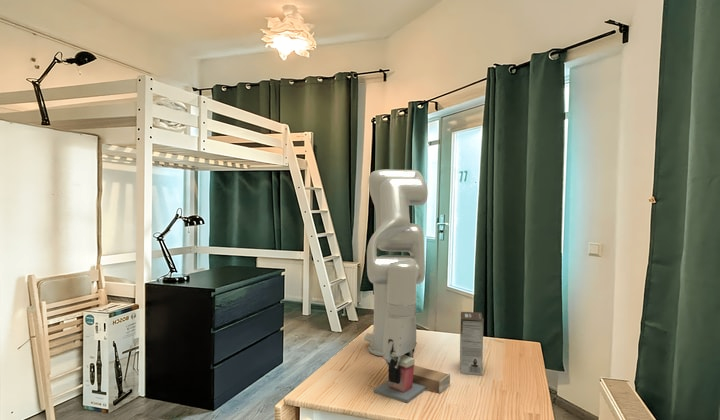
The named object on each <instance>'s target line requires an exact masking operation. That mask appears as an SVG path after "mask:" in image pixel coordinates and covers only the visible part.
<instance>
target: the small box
mask: <svg viewBox="0 0 720 420" xmlns="http://www.w3.org/2000/svg"><path fill="white" fill-rule="evenodd" d="M392 359H394V361H395V362H396V357H393V358H392ZM414 365H415V358H414V357H413V358H412V357H409V356H407V355H402V356H401V357H400V363H399V368H400V383H399V384H397V383H393V382H390V381H389V386H390V387H393V388H395V389H397V390H400V391H402V392H405V391H407V390H408V389H410V388H412V383H413V371H414Z"/></svg>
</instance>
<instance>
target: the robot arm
mask: <svg viewBox="0 0 720 420" xmlns="http://www.w3.org/2000/svg"><path fill="white" fill-rule="evenodd" d="M368 190H369V194H370V197H371V200H372V203H373V205H374V210H375V232H374V233H372V235H371V237H370V239H369V241H368V244H367V248H366V273H367V278H368V281H369V282H370V283H371V284H372V286H373V328H372V329H373V333H370V332H367V333H366V334H365V335H364V341H366V342H370V344H369V345H368V352H369V353H370V354H372V355H375V356H378V357H383V360H385V362H386V366H387V367H388V369H387V370H388V374H387V375H388V376H387V377H388V379H387V381H388V380H389V381H390V382H393V383H397V384H399V383H400V368H399V363H400V357H401V356H402V355H407V356H409V357H412V358H414V353H415V349H416V346H417V344H418V343H417V321H416V315H417V285H420V284H422V283H423V282H424V280H425V278H426V277H425V275H426V264H425V263H426V262H425V237H424V232H423V231H424V230H423V229H422V227H421V226H420V225H419V224H417V223H411V219H410V217H411V216H410V207H409V206H423V205H425V204H426V202H427V200H428V194H429V193H428V185H427V183H426V180H425V178H424V176H423V175H422V173H421V172H420V171H419V170H415V169H389V168H387V169H378V170H374V171H372V172H371V173H369V176H368ZM377 250H379V251H383V252H384V251H385V252H400V253H402V252H406V253H409V255H397V254H395V255H394V254H391V255H389V254H387V255H385V254H384V255H380V256H377V253H378V251H377ZM393 357H396V362H395V361H394V359H392V358H393Z"/></svg>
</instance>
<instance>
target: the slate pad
mask: <svg viewBox="0 0 720 420" xmlns="http://www.w3.org/2000/svg"><path fill="white" fill-rule="evenodd" d="M426 390H427V389H426V386H423V385H420V384H417V383H412V388H410V389H408V390H407V391H405V392H402V391H400V390H397V389H395V388H393V387H390V386H389V380H388V379H387V380H386V381H385V382H383V383H382V384H380V385H378V386H377V387H375V388H373V393H375V394H378V395H381V396H385V397H387V398H390V399H393V400H397V401H400V402H403V403H406V404H409V402H411V401H412V400H414V399H415V398H417V397H418V396H419V395H420V394H422V393H423V392H424V391H426Z"/></svg>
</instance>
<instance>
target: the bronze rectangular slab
mask: <svg viewBox="0 0 720 420" xmlns="http://www.w3.org/2000/svg"><path fill="white" fill-rule="evenodd" d="M413 383H417V384H420V385H423V386H426V390H427V391H430V392H434V393H438V394H441V393H443V392H444V391H445V390H446V389H448V388H449V387H450V386H451V373H444V372H442V371H438V370H434V369H430V368H427V367H426V368H425V367H422V366H418V365H415V364H414V371H413Z"/></svg>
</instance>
